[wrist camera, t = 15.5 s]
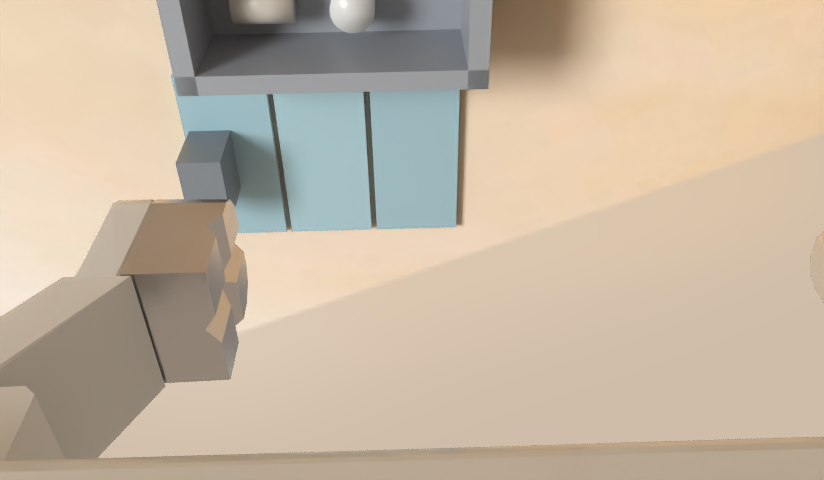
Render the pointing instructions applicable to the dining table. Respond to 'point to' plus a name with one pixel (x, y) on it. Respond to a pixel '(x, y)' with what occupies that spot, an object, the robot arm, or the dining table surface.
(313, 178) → the blue grooved panel
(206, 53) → the tub
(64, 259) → the dining table surface
